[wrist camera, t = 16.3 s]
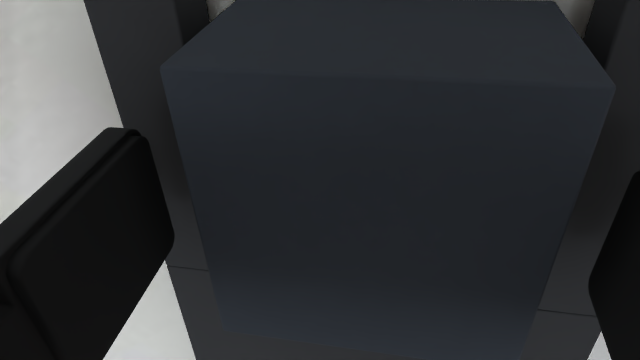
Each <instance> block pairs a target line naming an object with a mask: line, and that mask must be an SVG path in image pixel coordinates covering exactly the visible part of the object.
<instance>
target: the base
mask: <svg viewBox="0 0 640 360" xmlns="http://www.w3.org/2000/svg"><path fill="white" fill-rule="evenodd" d="M84 3H85V6H86V9H87V12H88V16H89V19H90V22H91V25H92V28H93V32H94V35H95V38H96V41H97V44H98V48H99V51H100V54H101V57H102V60H103V64H104V67H105V70H106V73H107V76H108V79H109V83H110V86H111V89H112V92H113V95H114V99H115V102H116V105H117V108H118V111H119V115H120V118H121V121H122V124H123V127H124V128H128V129H136V130H138V131H139V132H140V134H141V136H144V137H146V138H147V140H148V142H149V144H150V148H151V151H152V155H153V159H154V162H155V166H156V169H157V173H158V176H159V180H160V183H161V187H162V190H163V194H164V197H165V201H166V204H167V208H168V211H169V215H170V218H171V222H172V226H173V229H174V234H175V239H174V244H173V247H172V249H171V251H170V252H169V254H168V256H167V257H166V259H165V261H166V264H167V268H168V271H169V274H170V277H171V281H172V284H173V287H174V290H175V293H176V297H177V300H178V303H179V306H180V309H181V313H182V316H183V319H184V322H185V325H186V328H187V332H188V335H189V338H190V341H191V344H192V348H193V351H194V354H195V357H196V360H427V359H420V358H413V357H406V356H399V355H392V354H385V353H377V352H370V351H363V350H356V349H349V348H342V347H335V346H328V345H321V344H314V343H307V342H299V341H292V340H285V339H278V338H271V337H264V336H257V335H250V334H243V333H236V332H229V331H224V330H223V327H222V323H221V319H220V315H219V311H218V307H217V303H216V299H215V295H214V291H213V286H212V282H211V278H210V274H209V270H208V266H207V262H206V258H205V254H204V250H203V245H202V241H201V237H200V233H199V229H198V225H197V221H196V217H195V213H194V209H193V205H192V200H191V196H190V192H189V188H188V184H187V180H186V176H185V172H184V168H183V164H182V159H181V155H180V151H179V147H178V143H177V139H176V135H175V131H174V127H173V123H172V118H171V114H170V110H169V106H168V102H167V98H166V94H165V90H164V86H163V82H162V78H161V73H160V66H161V65H162V64H163V63H164V62H166V61H167V60H168V59H169V58H170V57H171V56H172V55H174V54H175V53H176V52H177V51H178V50H179V49H181V48H182V47H183V46H184V45H185V44H186V43H187V42H189V41H190V40H191V39H192V38H193V37H194V36H196V35H197V34H198V33H199V32H200V31H201V30H203V29H204V28H205V27H206V26H207V25H208V24H209V17H208V12H207V6H206V0H84ZM583 42H584V43H585V44H586V46H587V47H588V48H589V50H590V51H591V53H592V54H593V55H594V57H595V58H596V59H597V61H598V62H599V63H600V65H601V66H602V68H603V69H604V70H605V72H606V73H607V74H608V76H609V77H610V78H611V80H612V81H613V83H614V84H615V85H616V90H615V93H614V96H613V99H612V102H611V104H610V107H609V110H608V113H607V116H606V118H605V121H604V124H603V127H602V130H601V133H600V135H599V138H598V141H597V144H596V147H595V149H594V152H593V155H592V158H591V161H590V163H589V166H588V169H587V172H586V175H585V178H584V180H583V183H582V186H581V189H580V192H579V194H578V197H577V200H576V203H575V206H574V208H573V211H572V214H571V217H570V220H569V222H568V225H567V228H566V231H565V234H564V237H563V239H562V242H561V245H560V248H559V251H558V253H557V256H556V259H555V262H554V265H553V267H552V270H551V273H550V276H549V279H548V282H547V284H546V287H545V290H544V293H543V296H542V298H541V301H540V304H539V307H538V310H537V312H536V315H535V318H534V321H533V324H532V326H531V329H530V332H529V335H528V338H527V341H526V343H525V346H524V349H523V352H522V355H521V357H520V360H587V359H588V357H589V355H590V353H591V351H592V348H593V346H594V344H595V342H596V340H597V338H598V336H599V334H600V332H601V328H600V325H599V322H598V319H597V316H596V313H595V310H594V307H593V304H592V302H591V299H590V295H589V290H588V282H589V277H590V274H591V272H592V270H593V267H594V265H595V263H596V260H597V258H598V255H599V253H600V251H601V248H602V246H603V244H604V241H605V239H606V237H607V234H608V232H609V230H610V227H611V225H612V223H613V220H614V218H615V216H616V213H617V211H618V208H619V206H620V204H621V201H622V199H623V197H624V194H625V192H626V190H627V187H628V185H629V183H630V180H631V178H632V176H633V175H634V174H635V173H636V172H638V171H640V0H595V3H594V6H593V10H592V13H591V17H590V20H589V23H588V27H587V30H586V34H585V37H584V41H583Z"/></svg>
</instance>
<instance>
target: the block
mask: <svg viewBox="0 0 640 360" xmlns="http://www.w3.org/2000/svg"><path fill="white" fill-rule="evenodd" d="M160 73H161V78H162V82H163V86H164V90H165V94H166V98H167V102H168V106H169V110H170V114H171V118H172V123H173V127H174V131H175V135H176V139H177V143H178V147H179V151H180V155H181V159H182V164H183V168H184V172H185V176H186V180H187V184H188V188H189V192H190V196H191V200H192V205H193V209H194V213H195V217H196V221H197V225H198V229H199V233H200V237H201V241H202V245H203V250H204V254H205V258H206V262H207V266H208V270H209V274H210V278H211V282H212V286H213V291H214V295H215V299H216V303H217V307H218V311H219V315H220V319H221V323H222V327H223V330H224V331H229V332H236V333H243V334H250V335H257V336H264V337H271V338H278V339H285V340H292V341H299V342H307V343H314V344H321V345H328V346H335V347H342V348H349V349H356V350H363V351H370V352H377V353H385V354H392V355H399V356H406V357H413V358H420V359H427V360H520V357H521V355H522V352H523V349H524V346H525V343H526V341H527V338H528V335H529V332H530V329H531V326H532V324H533V321H534V318H535V315H536V312H537V310H538V307H539V304H540V301H541V298H542V296H543V293H544V290H545V287H546V284H547V282H548V279H549V276H550V273H551V270H552V267H553V265H554V262H555V259H556V256H557V253H558V251H559V248H560V245H561V242H562V239H563V237H564V234H565V231H566V228H567V225H568V222H569V220H570V217H571V214H572V211H573V208H574V206H575V203H576V200H577V197H578V194H579V192H580V189H581V186H582V183H583V180H584V178H585V175H586V172H587V169H588V166H589V163H590V161H591V158H592V155H593V152H594V149H595V147H596V144H597V141H598V138H599V135H600V133H601V130H602V127H603V124H604V121H605V118H606V116H607V113H608V110H609V107H610V104H611V102H612V99H613V96H614V93H615V90H616V85H615V84H614V83H613V81H612V80H611V78H610V77H609V76H608V74H607V73H606V72H605V70H604V69H603V68H602V66H601V65H600V63H599V62H598V61H597V59H596V58H595V57H594V55H593V54H592V53H591V51H590V50H589V48H588V47H587V46H586V44H585V43H584V42H583V40H582V39H581V37H580V36H579V35H578V33H577V32H576V31H575V29H574V28H573V27H572V25H571V24H570V22H569V21H568V20H567V18H566V17H565V16H564V14H563V13H562V11H561V10H560V9H559V7H558V6H557V5H556V3H555V2H553V1H515V0H236V1H235V2H234V3H233V4H231V5H230V6H229V7H228V8H227V9H226V10H224V11H223V12H222V13H221V14H220V15H219V16H218V17H216V18H215V19H214V20H213V21H212V22H211V23H209V24H208V25H207V26H206V27H205V28H204V29H203V30H201V31H200V32H199V33H198V34H197V35H196V36H194V37H193V38H192V39H191V40H190V41H189V42H187V43H186V44H185V45H184V46H183V47H182V48H181V49H179V50H178V51H177V52H176V53H175V54H174V55H172V56H171V57H170V58H169V59H168V60H167V61H166V62H164V63H163V64H162V65H161V66H160Z"/></svg>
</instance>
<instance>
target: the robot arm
mask: <svg viewBox="0 0 640 360" xmlns="http://www.w3.org/2000/svg"><path fill="white" fill-rule="evenodd" d="M174 239H175V234H174V229H173V226H172V222H171V218H170V215H169V211H168V208H167V204H166V201H165V197H164V194H163V190H162V187H161V183H160V180H159V176H158V173H157V169H156V166H155V162H154V159H153V155H152V151H151V148H150V144H149V142H148V140H147V138H146V137H144V136H141V134H140V132H139V131H138V130H136V129H128V128H113V127H110V128H106V129H105V130H103V131H102V132H101V133H100V134H99V135H98V136H97V137H96V138H95V139H94V140H92V141H91V142H90V143H89V144H88V145H87V146H86V147H85V148H84V149H83V150H81V151H80V152H79V153H78V154H77V155H76V156H75V157H74V158H73V159H72V160H70V161H69V162H68V163H67V164H66V165H65V166H64V167H63V168H62V169H61V170H59V171H58V172H57V173H56V174H55V175H54V176H53V177H52V178H51V179H50V180H48V181H47V182H46V183H45V184H44V185H43V186H42V187H41V188H40V189H39V190H37V191H36V192H35V193H34V194H33V195H32V196H31V197H30V198H29V199H28V200H26V201H25V202H24V203H23V204H22V205H21V206H20V207H19V208H18V209H17V210H15V211H14V212H13V213H12V214H11V215H10V216H9V217H8V218H7V219H6V220H4V221H3V222H2V223H1V224H0V360H103V358H104V357H105V355H106V354H107V352H108V350H109V349H110V347H111V346H112V344H113V342H114V341H115V339H116V338H117V336H118V334H119V333H120V331H121V330H122V328H123V326H124V325H125V323H126V321H127V320H128V318H129V317H130V315H131V313H132V312H133V310H134V309H135V307H136V305H137V304H138V302H139V301H140V299H141V297H142V296H143V294H144V293H145V291H146V289H147V288H148V286H149V285H150V283H151V281H152V280H153V278H154V276H155V275H156V273H157V272H158V270H159V268H160V267H161V265H162V264H163V262H164V260H165V259H166V257H167V256H168V254H169V252H170V251H171V249H172V247H173V244H174ZM588 290H589V295H590V299H591V302H592V304H593V307H594V310H595V313H596V316H597V319H598V322H599V325H600V328H601V331H602V333H603V336H604V339H605V342H606V345H607V348H608V351H609V354H610V357H611V360H640V171H638V172H636V173H635V174H634V175H633V176H632V178H631V180H630V183H629V185H628V187H627V190H626V192H625V194H624V197H623V199H622V201H621V204H620V206H619V208H618V211H617V213H616V216H615V218H614V220H613V223H612V225H611V227H610V230H609V232H608V234H607V237H606V239H605V241H604V244H603V246H602V248H601V251H600V253H599V255H598V258H597V260H596V263H595V265H594V267H593V270H592V272H591V274H590V277H589V282H588Z"/></svg>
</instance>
